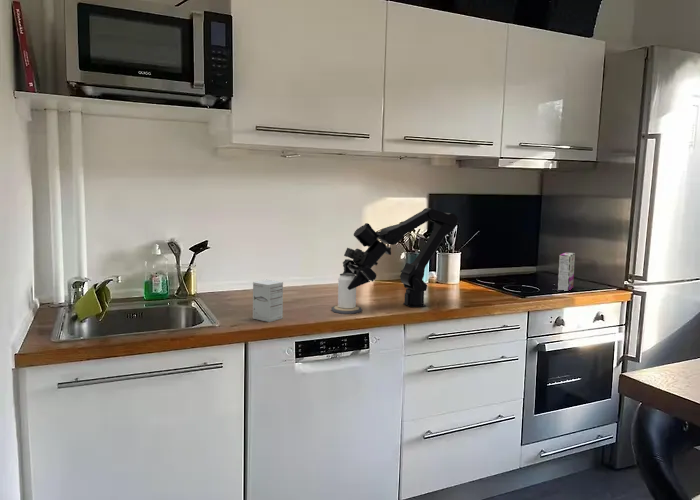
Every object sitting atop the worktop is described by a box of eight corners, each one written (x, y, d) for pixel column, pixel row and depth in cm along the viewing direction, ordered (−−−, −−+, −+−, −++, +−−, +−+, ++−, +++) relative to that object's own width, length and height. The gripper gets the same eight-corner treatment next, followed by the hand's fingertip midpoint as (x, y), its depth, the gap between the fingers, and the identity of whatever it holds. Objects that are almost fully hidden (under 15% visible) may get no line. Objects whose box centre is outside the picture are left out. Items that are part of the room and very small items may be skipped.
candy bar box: (561, 287, 261) (564, 252, 259) (573, 288, 258) (575, 253, 256) (556, 291, 252) (558, 254, 250) (568, 292, 249) (570, 255, 247)
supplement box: (251, 319, 190) (251, 281, 189) (266, 315, 196) (267, 279, 195) (268, 322, 186) (268, 284, 185) (283, 318, 192) (283, 281, 191)
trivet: (354, 306, 213) (354, 303, 213) (366, 312, 203) (366, 309, 203) (327, 308, 209) (327, 305, 209) (338, 315, 199) (338, 311, 198)
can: (341, 304, 210) (342, 272, 209) (358, 306, 208) (358, 273, 207) (335, 308, 204) (335, 275, 203) (352, 309, 202) (352, 276, 201)
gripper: (347, 237, 213) (319, 268, 210) (369, 242, 196) (338, 276, 193) (366, 257, 217) (339, 287, 214) (388, 264, 200) (359, 297, 197)
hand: (343, 286), depth 204 cm, fingers open, 8 cm apart
